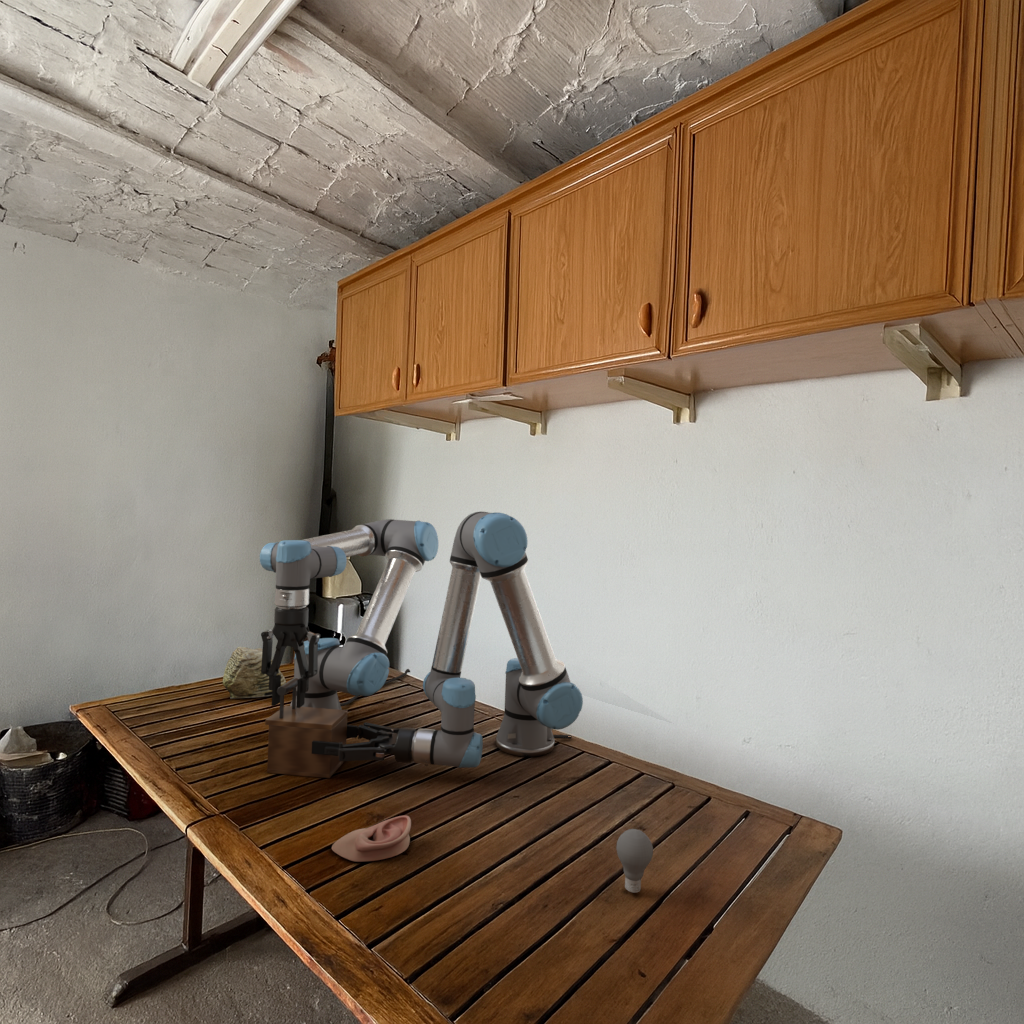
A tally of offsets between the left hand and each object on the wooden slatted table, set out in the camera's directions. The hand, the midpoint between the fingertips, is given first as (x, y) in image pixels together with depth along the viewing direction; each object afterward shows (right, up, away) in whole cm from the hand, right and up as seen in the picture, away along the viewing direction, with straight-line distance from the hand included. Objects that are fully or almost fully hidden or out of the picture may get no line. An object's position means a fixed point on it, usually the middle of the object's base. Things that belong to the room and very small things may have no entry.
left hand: (288, 704), depth 149 cm
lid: (+5, -3, 0) cm, 6 cm away
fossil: (-28, -12, +50) cm, 58 cm away
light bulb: (+73, -18, -43) cm, 86 cm away
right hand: (+8, -8, -1) cm, 11 cm away
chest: (+5, -14, 0) cm, 15 cm away
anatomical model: (+27, -16, -33) cm, 45 cm away
